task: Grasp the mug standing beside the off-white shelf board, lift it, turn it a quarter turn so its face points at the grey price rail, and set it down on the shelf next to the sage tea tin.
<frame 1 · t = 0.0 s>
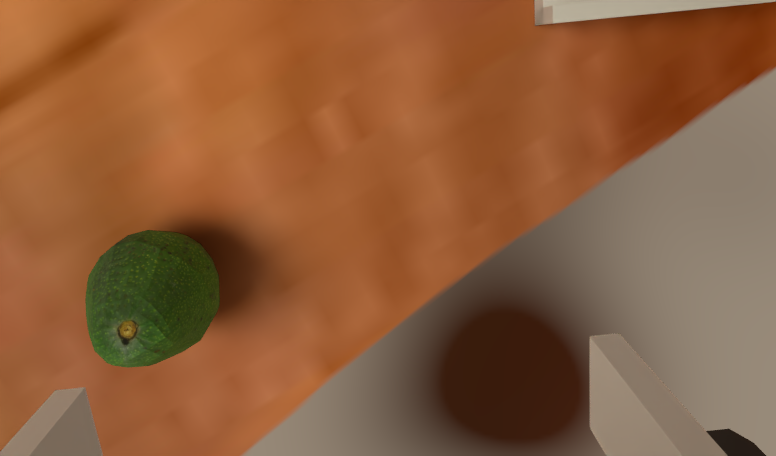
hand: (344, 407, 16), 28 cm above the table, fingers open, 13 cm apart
avocado: (178, 265, 45), on the table
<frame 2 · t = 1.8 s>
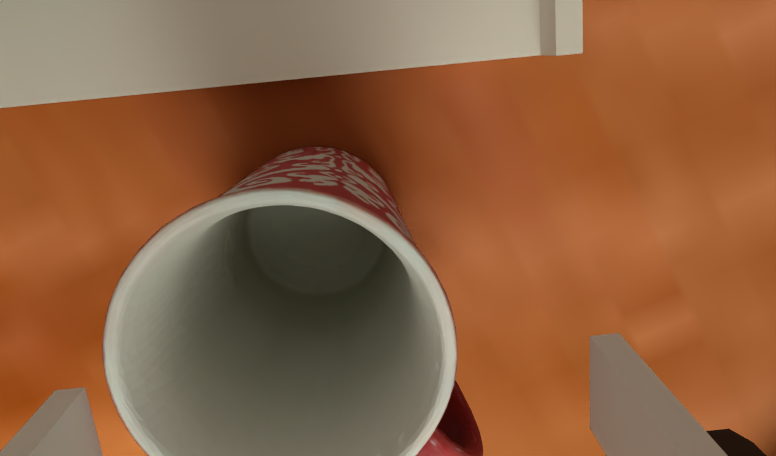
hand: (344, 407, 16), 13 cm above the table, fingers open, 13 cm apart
mug: (341, 249, 29), on the table
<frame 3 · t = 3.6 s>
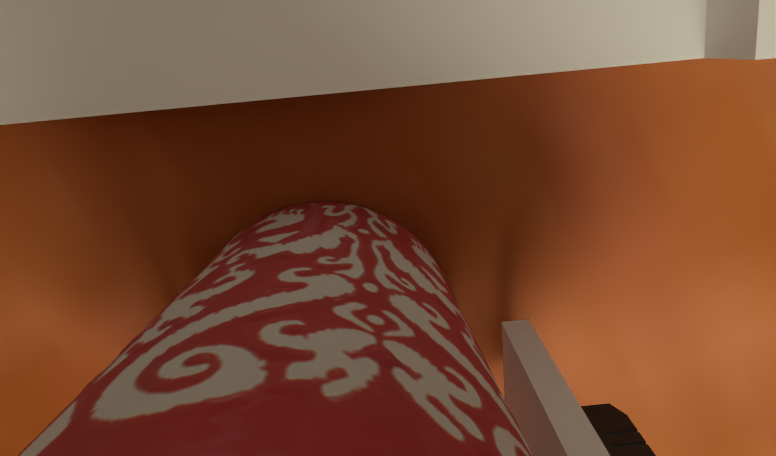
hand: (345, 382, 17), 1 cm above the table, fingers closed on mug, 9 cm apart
mug: (363, 355, 19), on the table, touching gripper
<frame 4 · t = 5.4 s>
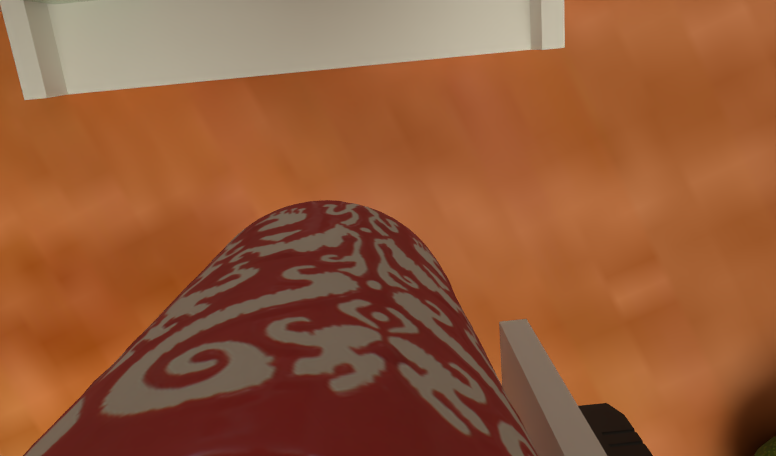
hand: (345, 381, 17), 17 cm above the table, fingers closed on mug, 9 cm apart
mug: (364, 353, 19), point 15 cm above the table, touching gripper
avocado: (771, 455, 39), on the table
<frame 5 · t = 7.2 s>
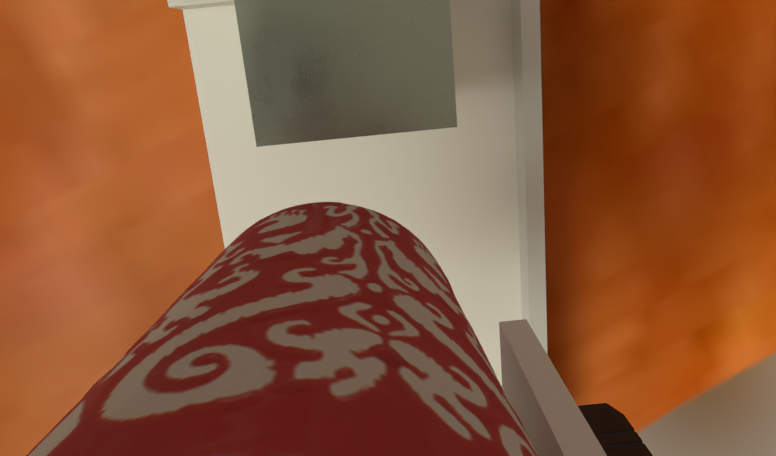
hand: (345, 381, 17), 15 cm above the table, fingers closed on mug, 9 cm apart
mug: (365, 355, 19), point 13 cm above the table, touching gripper
shelf: (372, 227, 32), on the table
tea tin: (353, 54, 27), point 2 cm above the table, touching shelf
when the fingers open (5 cm above the table, at t = 9.7 s): mug drops 1 cm, resting on shelf.
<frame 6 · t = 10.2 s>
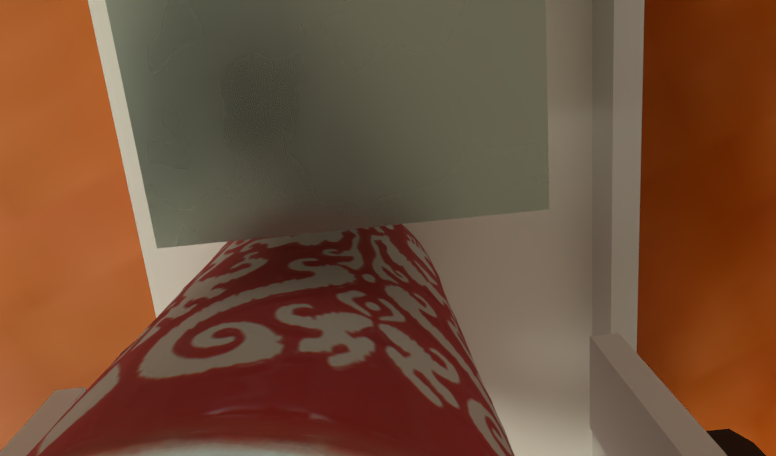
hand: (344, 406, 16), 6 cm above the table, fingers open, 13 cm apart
mug: (358, 339, 20), point 2 cm above the table, touching shelf
shelf: (377, 307, 22), on the table
tea tin: (350, 63, 18), point 2 cm above the table, touching shelf
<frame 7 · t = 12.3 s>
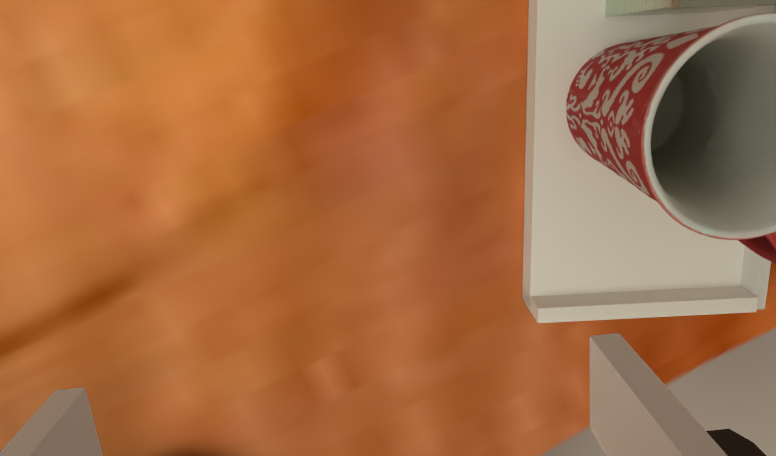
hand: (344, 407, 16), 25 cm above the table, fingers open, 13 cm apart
mug: (634, 127, 38), point 2 cm above the table, touching shelf
shelf: (634, 119, 40), on the table
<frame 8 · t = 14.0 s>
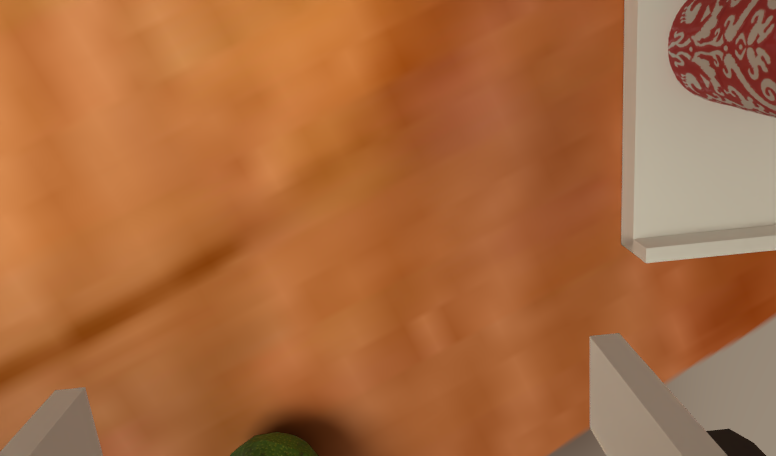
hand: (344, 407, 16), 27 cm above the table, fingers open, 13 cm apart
mug: (735, 63, 39), point 2 cm above the table, touching shelf
avocado: (280, 450, 48), on the table
shelf: (730, 57, 40), on the table
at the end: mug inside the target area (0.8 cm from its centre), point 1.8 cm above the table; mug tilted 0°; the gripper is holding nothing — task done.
